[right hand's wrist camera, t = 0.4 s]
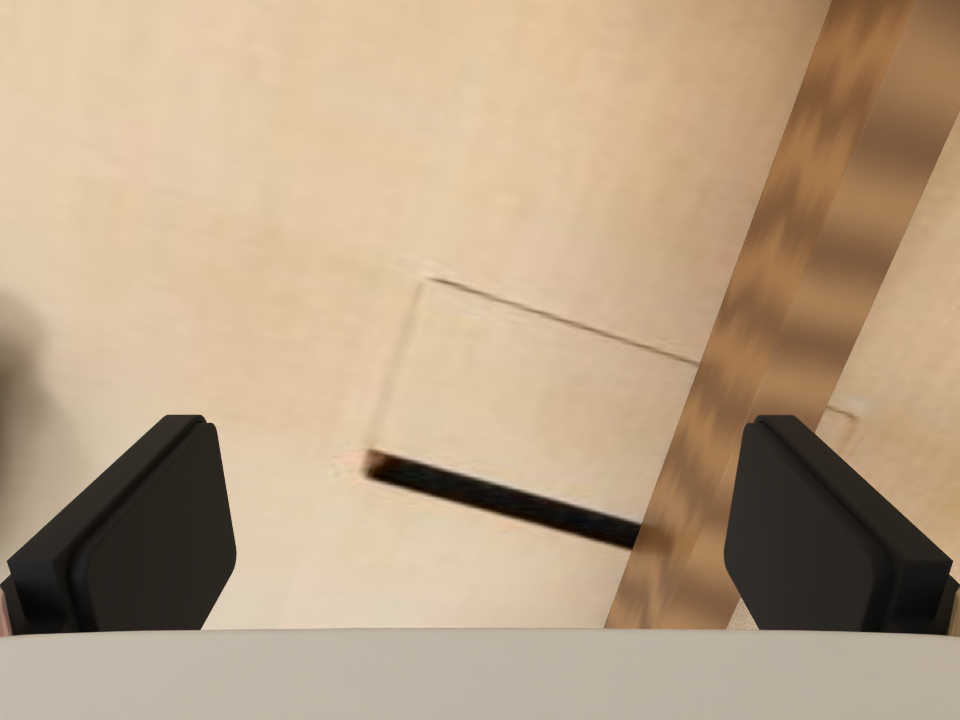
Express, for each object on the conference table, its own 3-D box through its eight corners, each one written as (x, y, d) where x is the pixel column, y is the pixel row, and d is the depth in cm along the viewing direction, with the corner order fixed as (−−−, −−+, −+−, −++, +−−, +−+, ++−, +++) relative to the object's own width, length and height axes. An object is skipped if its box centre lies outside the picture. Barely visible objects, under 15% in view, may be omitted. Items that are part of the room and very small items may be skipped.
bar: (1035, -560, 28) (1249, -824, 20) (1119, -532, 28) (1362, -781, 20) (603, 628, 51) (625, 717, 43) (652, 636, 51) (682, 726, 44)
